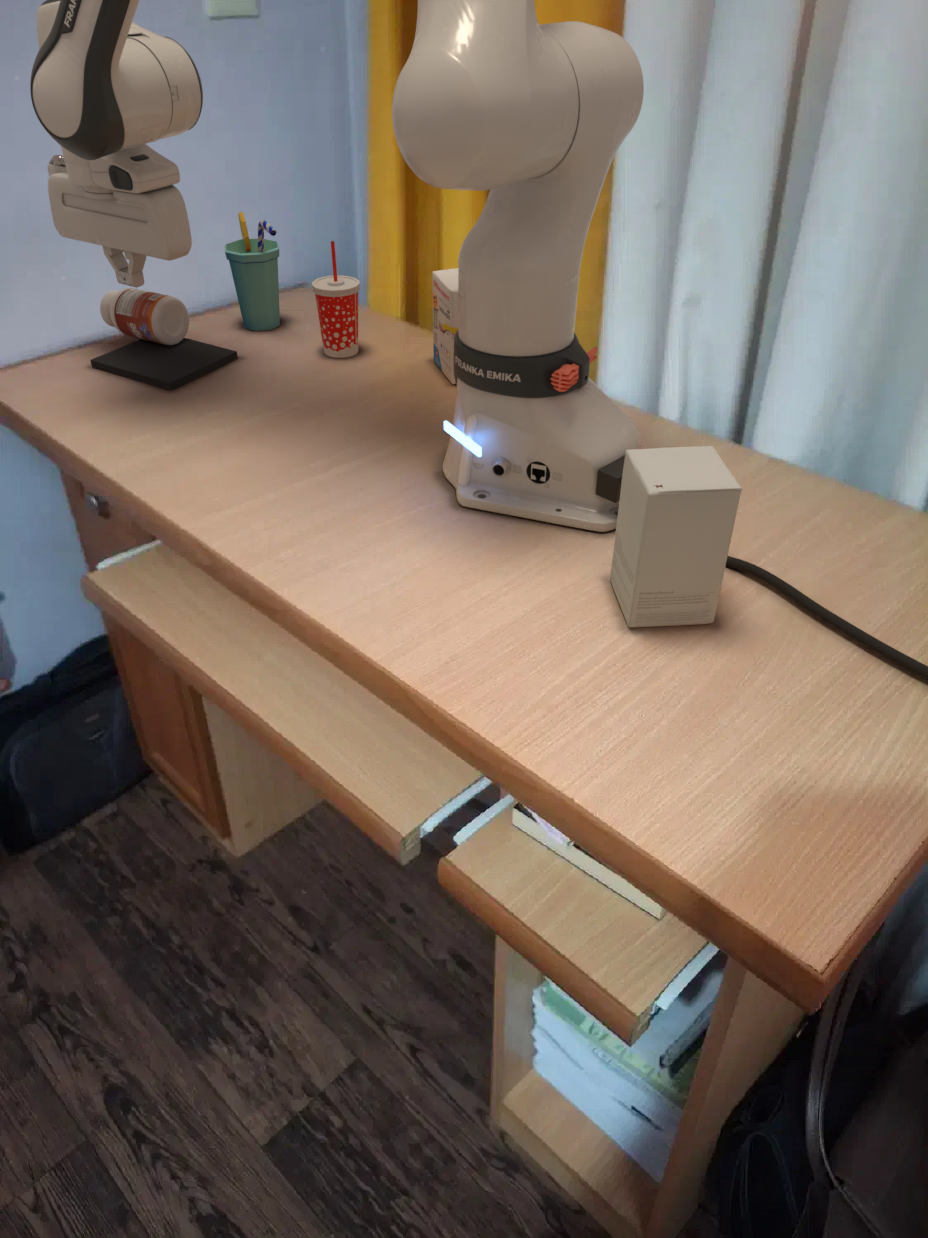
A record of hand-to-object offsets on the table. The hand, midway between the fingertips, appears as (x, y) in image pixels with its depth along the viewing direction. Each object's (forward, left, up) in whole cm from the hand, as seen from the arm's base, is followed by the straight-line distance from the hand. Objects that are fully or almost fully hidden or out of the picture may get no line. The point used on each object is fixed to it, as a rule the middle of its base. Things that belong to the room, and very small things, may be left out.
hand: (131, 284), depth 114 cm
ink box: (-38, -19, -10) cm, 44 cm away
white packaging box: (-77, +16, -10) cm, 80 cm away
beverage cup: (-20, -15, -10) cm, 27 cm away
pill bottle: (-3, -3, -5) cm, 7 cm away
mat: (-3, 0, -9) cm, 10 cm away
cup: (-5, -17, -10) cm, 20 cm away
